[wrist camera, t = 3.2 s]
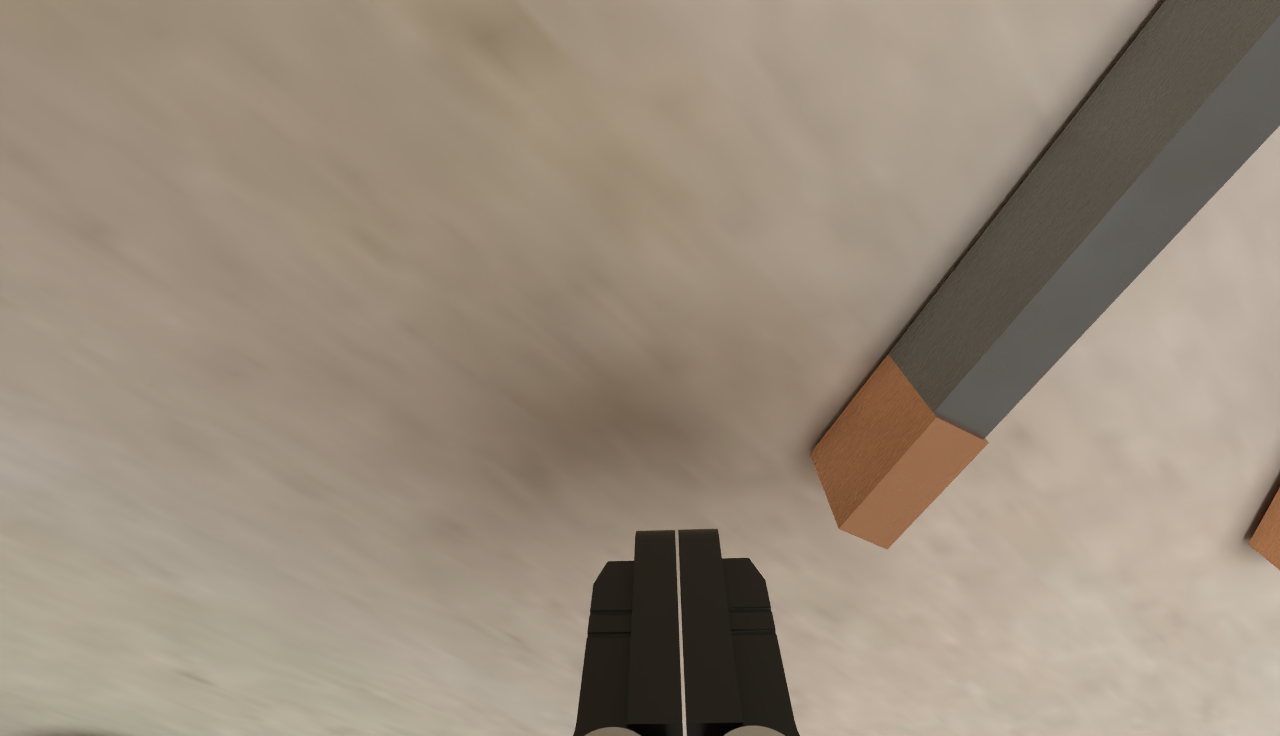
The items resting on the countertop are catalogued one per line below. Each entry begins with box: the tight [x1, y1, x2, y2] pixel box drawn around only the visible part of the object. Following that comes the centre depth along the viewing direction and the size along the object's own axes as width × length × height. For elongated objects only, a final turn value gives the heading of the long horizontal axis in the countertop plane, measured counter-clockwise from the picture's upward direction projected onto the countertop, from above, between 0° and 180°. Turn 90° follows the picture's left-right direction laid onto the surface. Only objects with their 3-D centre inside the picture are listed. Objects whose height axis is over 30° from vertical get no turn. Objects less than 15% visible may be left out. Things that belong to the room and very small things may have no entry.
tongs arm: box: [810, 0, 1280, 549], centre depth 13 cm, size 24×2×3 cm, turn 154°
